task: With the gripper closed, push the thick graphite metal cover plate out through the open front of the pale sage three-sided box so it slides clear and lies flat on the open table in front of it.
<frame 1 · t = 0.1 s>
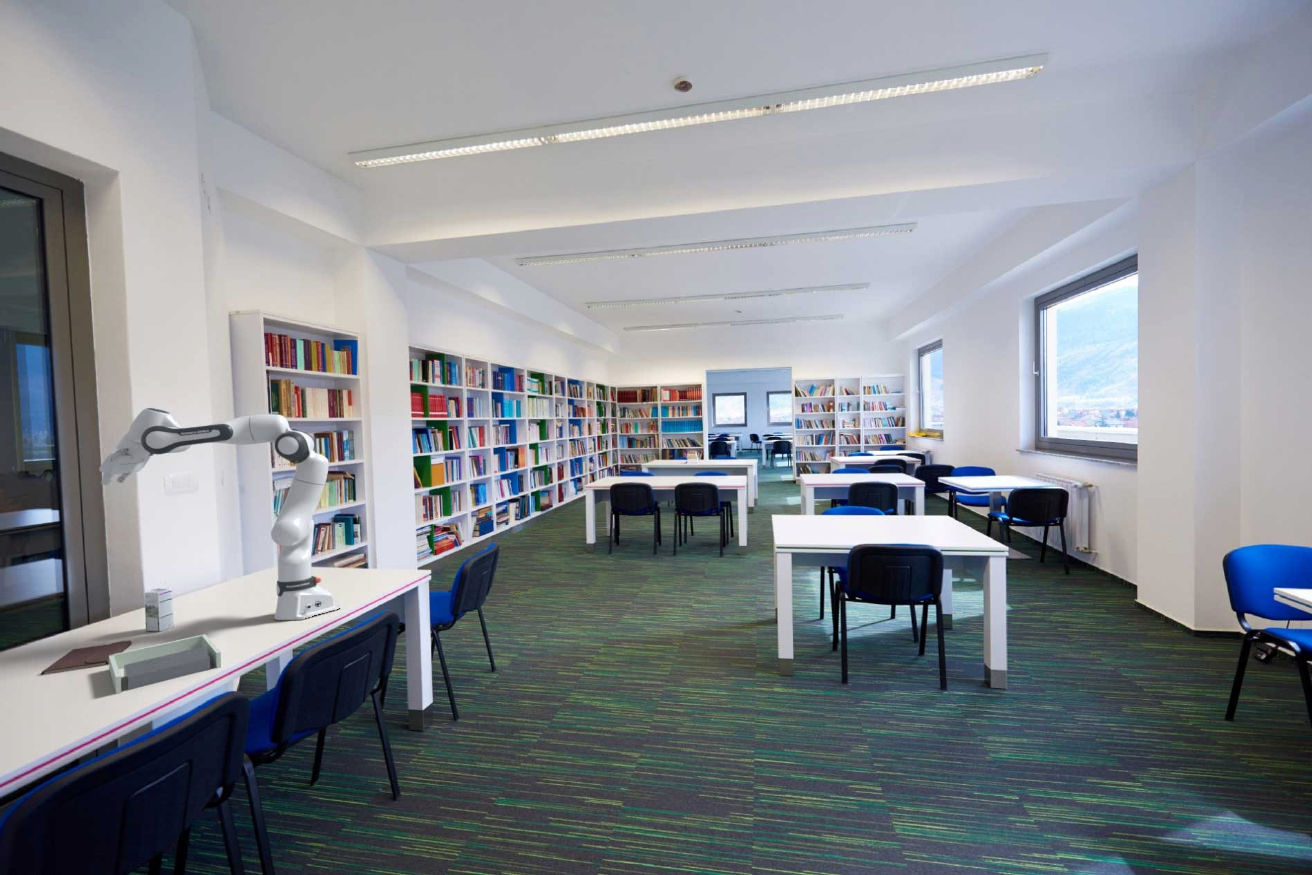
hand: (112, 483, 202), 54 cm above the table, tool tilted 30°, fingers open, 8 cm apart
syrup box: (159, 629, 207), on the table
cover plate: (167, 674, 167), on the table
notebook: (89, 660, 180), on the table
sage box: (165, 668, 171), on the table
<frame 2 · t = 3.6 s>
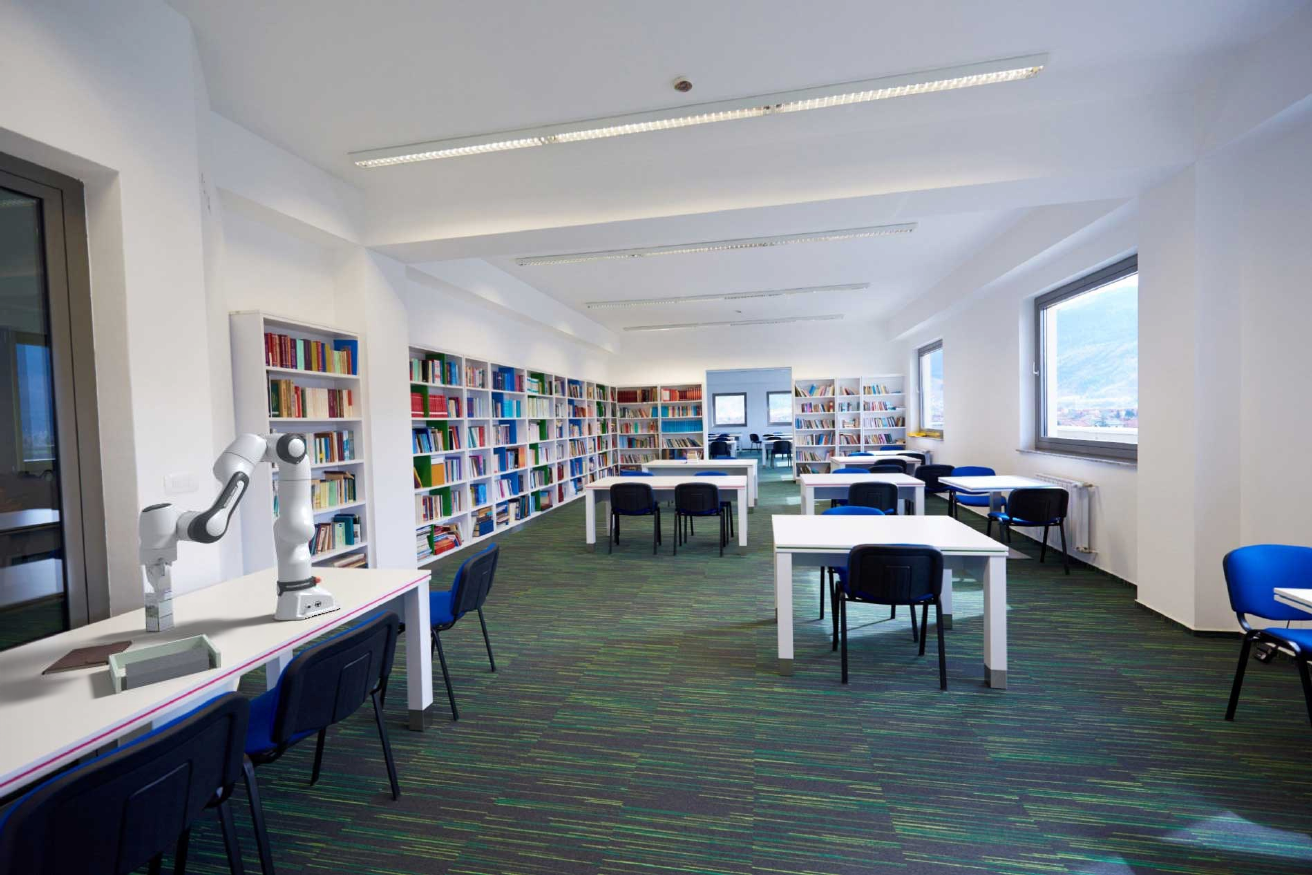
hand: (159, 600, 176), 19 cm above the table, tool pointing down, fingers closed
nothing on the table moved.
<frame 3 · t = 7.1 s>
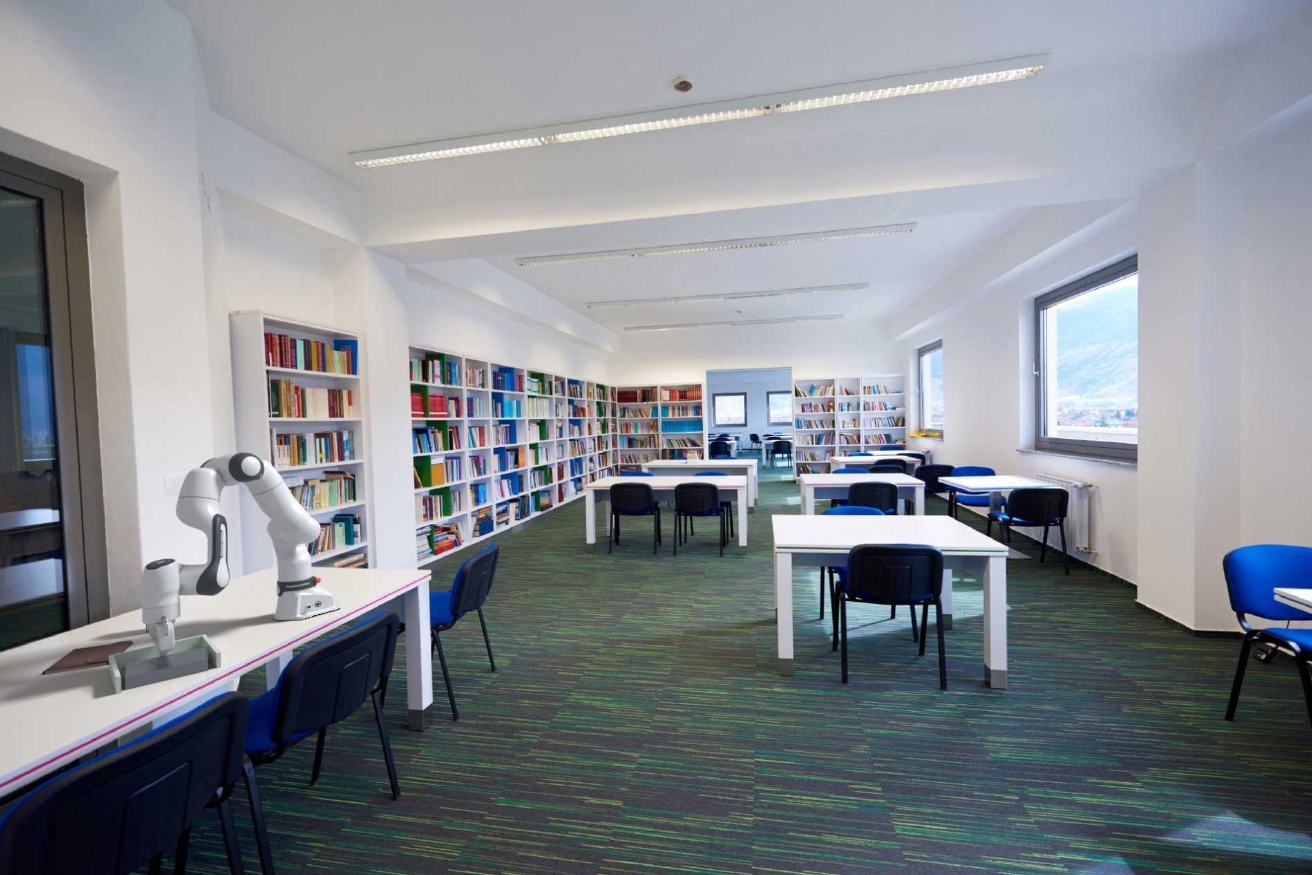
hand: (162, 658, 173), 2 cm above the table, tool pointing down, fingers closed
cover plate: (167, 674, 167), on the table, touching gripper
everything else where it was.
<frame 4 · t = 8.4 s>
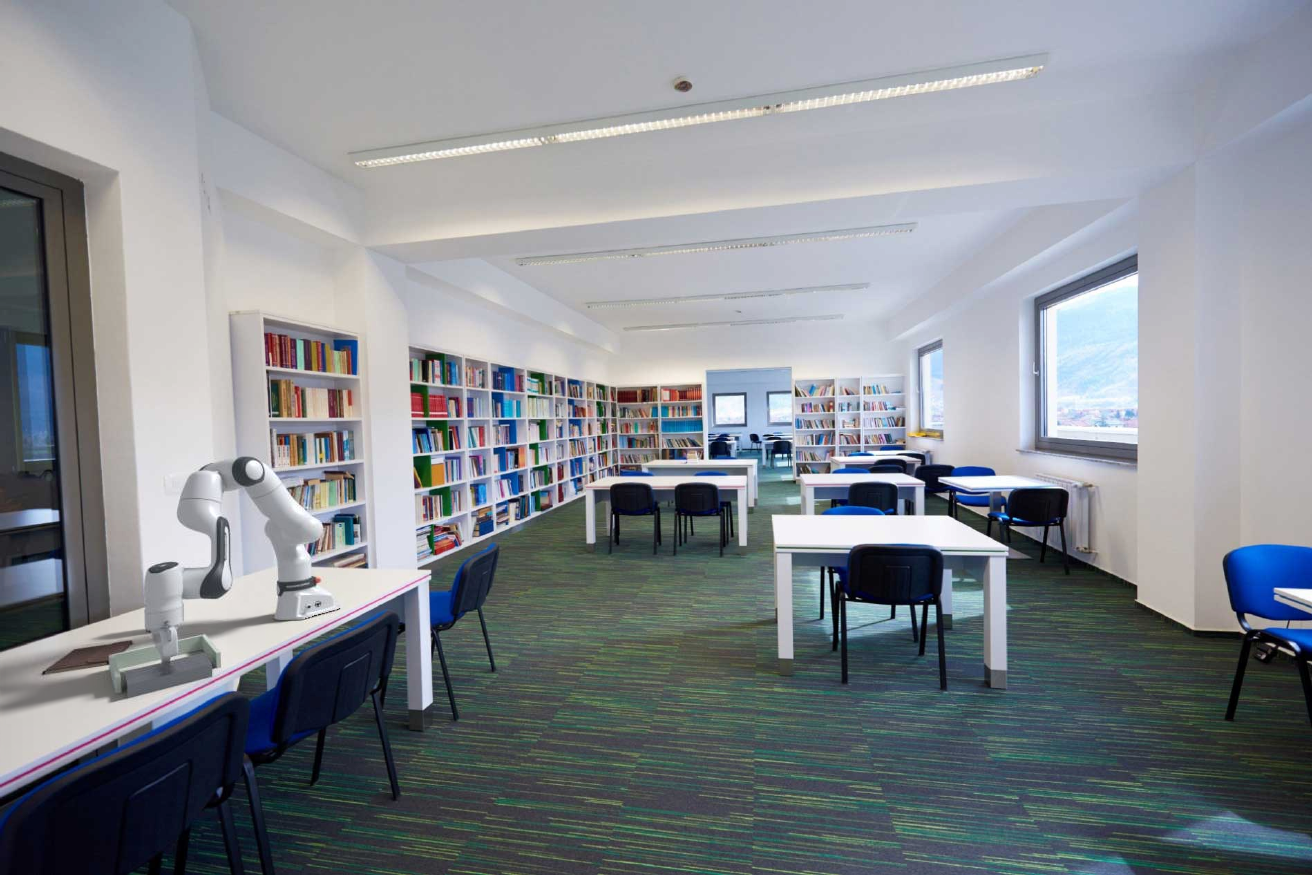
hand: (165, 664, 168), 2 cm above the table, tool pointing down, fingers closed
cover plate: (169, 681, 162), on the table
everything else where it was.
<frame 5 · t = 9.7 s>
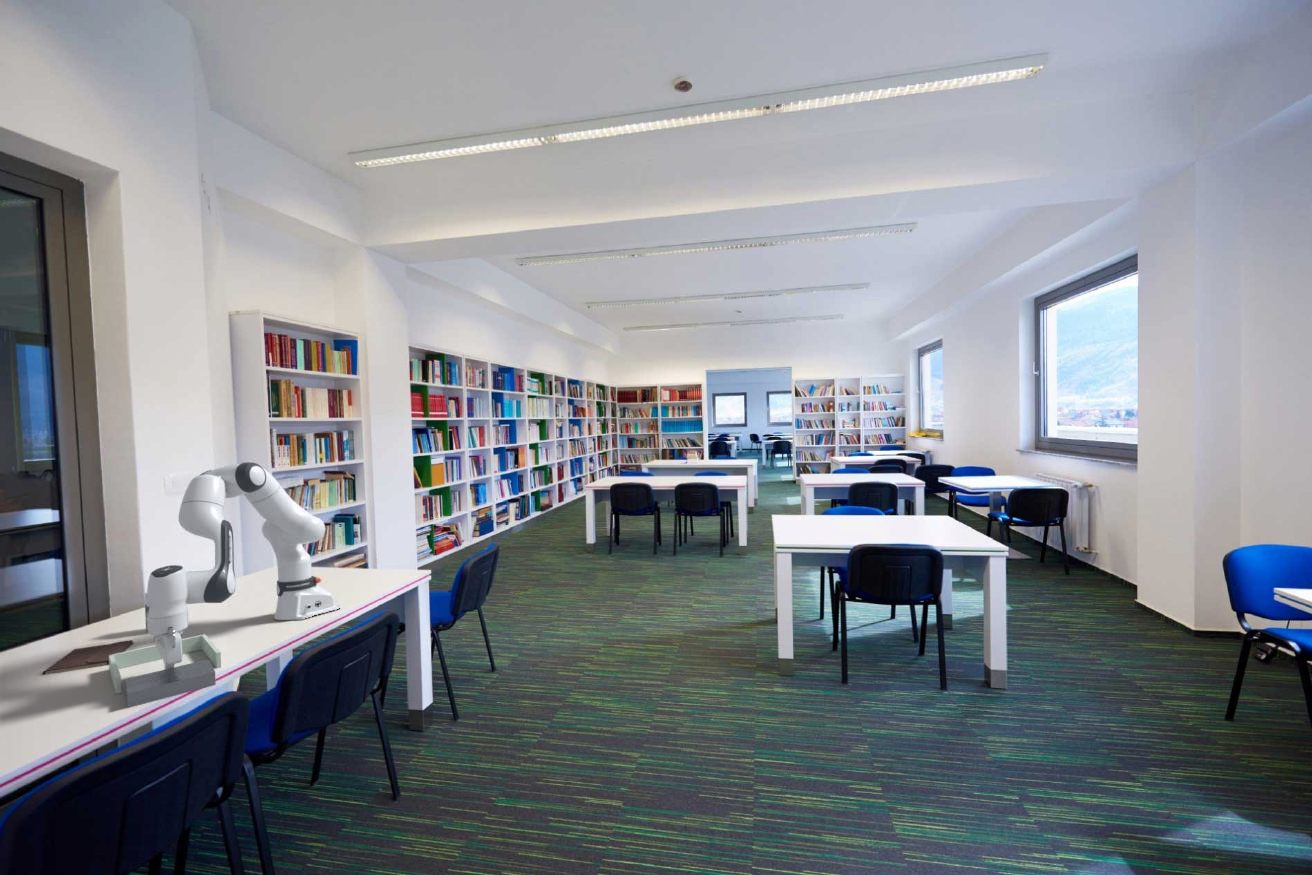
hand: (169, 671, 163), 2 cm above the table, tool pointing down, fingers closed
cover plate: (171, 689, 157), on the table, touching gripper
everything else where it was.
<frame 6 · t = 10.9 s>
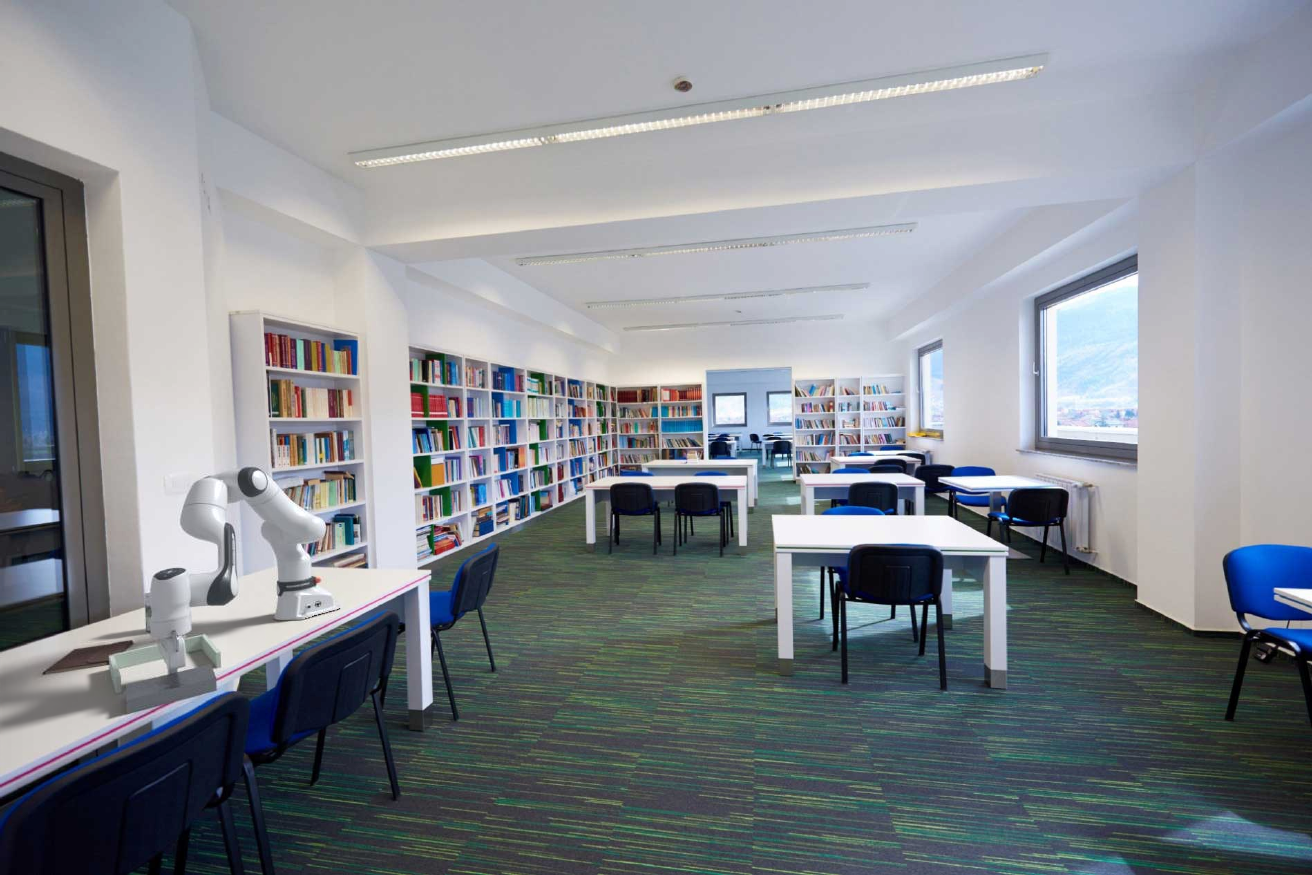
hand: (172, 676, 160), 2 cm above the table, tool pointing down, fingers closed
cover plate: (171, 695, 154), on the table
everything else where it was.
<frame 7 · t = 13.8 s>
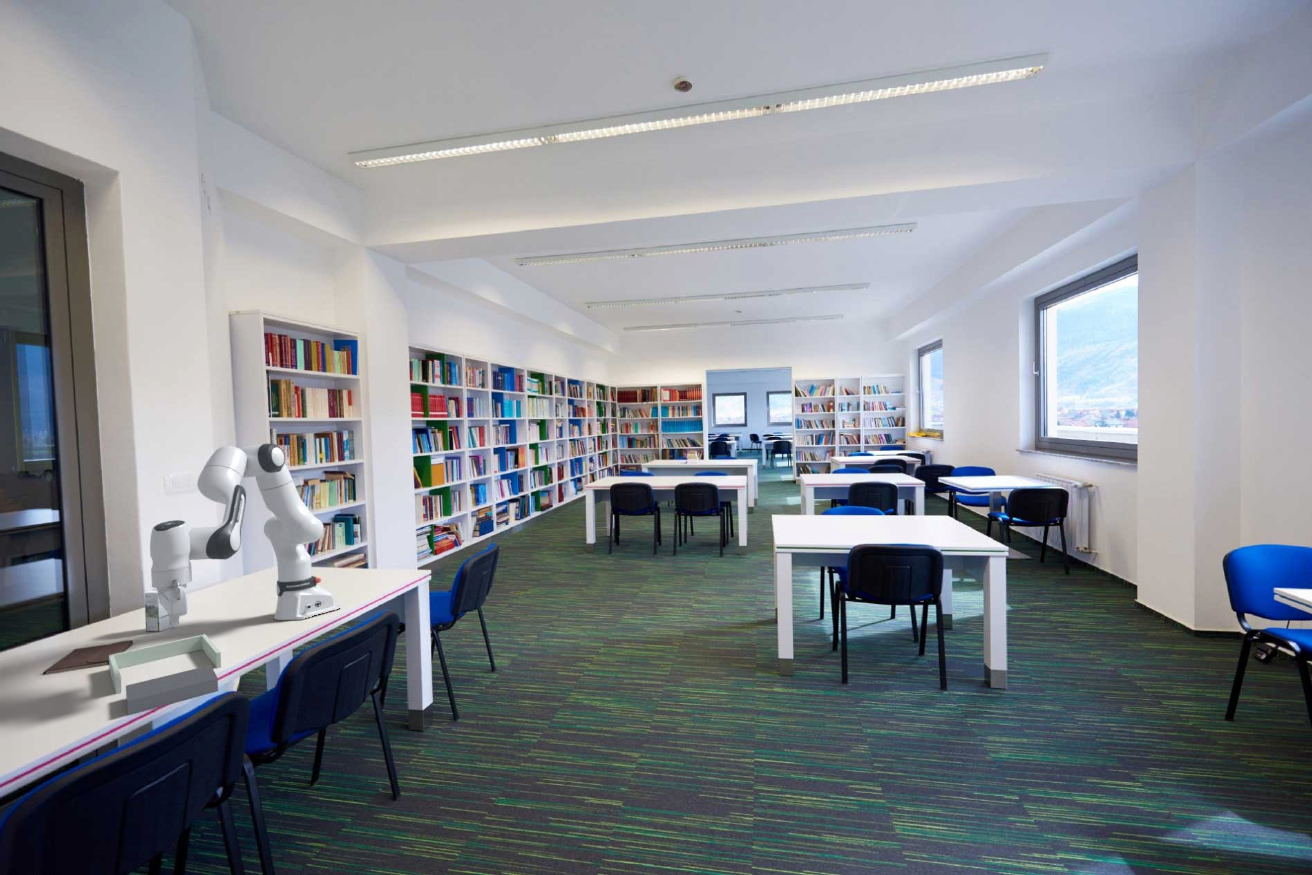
hand: (174, 625, 164), 15 cm above the table, tool pointing down, fingers closed
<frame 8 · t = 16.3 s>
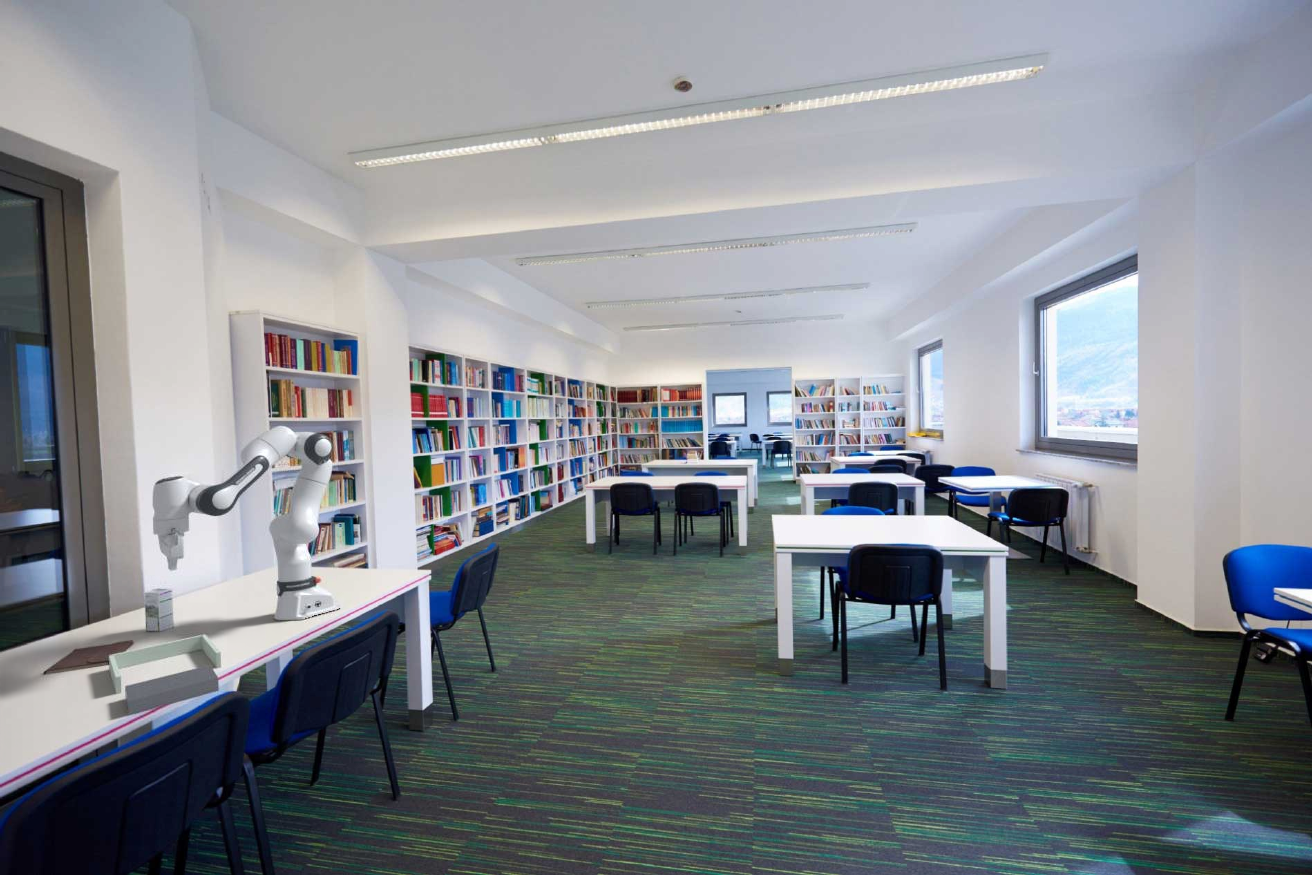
hand: (172, 569, 183), 27 cm above the table, tool pointing down, fingers closed
nothing on the table moved.
at the end: cover plate inside the target area (1.4 cm from its centre), on the table; cover plate touching table; cover plate tilted 0° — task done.
